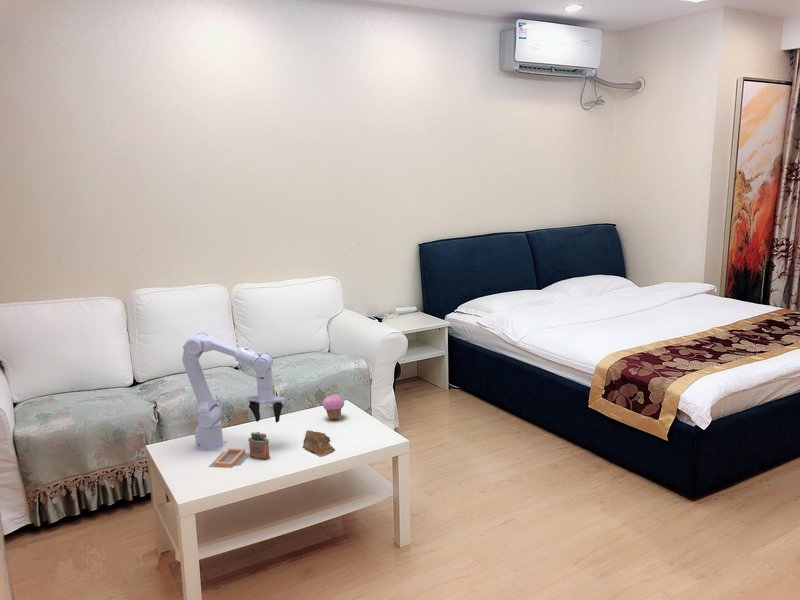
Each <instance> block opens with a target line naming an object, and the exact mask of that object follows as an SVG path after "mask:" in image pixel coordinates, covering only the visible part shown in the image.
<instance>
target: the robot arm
mask: <svg viewBox="0 0 800 600" xmlns="http://www.w3.org/2000/svg"><path fill="white" fill-rule="evenodd" d="M182 349H183V352H182V353H183V354H182V359H181V360H182V364H183V367H184V370H185V371H186V375H187V378H188V380H189V383H190V385H191V388H192V390H193V393H194V396H195V399H196V401H197V404H198V405H197V410H196V413H197V423H198V425H196V428H195V430H194V439H195V446H196V448H195V451H204V452H219V451H220V450H222V449H223V448H224V447H225V446H226V444H228V441H225V440H224V438H223V437H224V435H223V428H222V420H221V418H222V417H223V415H224V411H223V410H224V409H223V408H222V406H220V404H219V402H218V400H216V399H214V398H213V396H212V394H211V390H210V388H209V385H208V382H207V379H206V377H205V375H204V372H203V371H204V370H203V369H202V366H201V363H200V361H199V360H200V358H201V356H202V354H203V353H208V352H212V351H215V352H219V353H222V354H225V355H228V356H231V357H234V359H235V361H236V362H238V363H241V364H243V365H245V366H248V367H250V368H253V370H254V371H255V374H256V376H255V377H256V387H257V395H251V396H249V395H248V396H247V397H246V404H248V408H249V409H250V411H251V413H252V414H253V416H254V420H255V422H256V423H257V422H259V421H260V420H261V414H260V413H261V412H260V406H261V405H260V404H274V405H272V408H273V410H274V417H275V418H274V420H275V423H278V422H279V421H280V417H281V413H282V409H283V407H284V405H285V404H286V403H287V398H286V397H282V396H276V395H274V393H275V392H274V384H273V382H274V381H273V372H272V366H273V363H274V359H273V357H272V355H270V354H269V353H268V352H263V353H262V352H261V351H255V350H252V349H250V347H248V346H241V347H236V346H234V345H232V344H229V343H228V342H225V341H223V340H221V339H219V338H216V337H215V336H214V335H212V334H208V333H206V332H203V331H202V332H201V331H200V332H198V333H197V334H196V335H194V336H193V337H191V338H188V339H187V341H185V342H184V345H182Z"/></svg>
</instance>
